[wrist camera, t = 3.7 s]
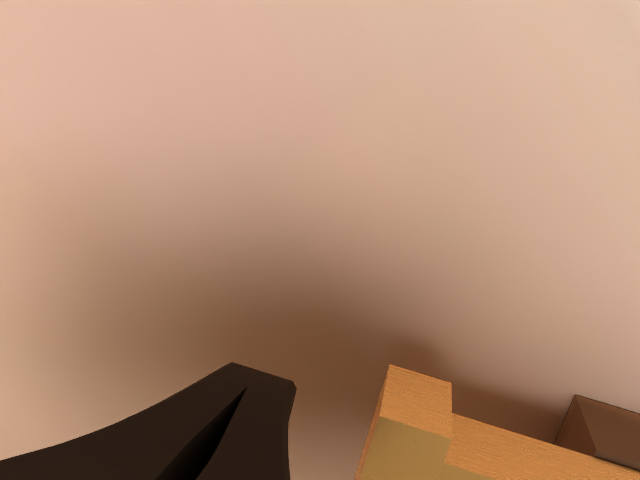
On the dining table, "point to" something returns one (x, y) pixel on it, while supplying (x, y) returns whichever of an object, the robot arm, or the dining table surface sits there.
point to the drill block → (602, 432)
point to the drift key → (459, 442)
